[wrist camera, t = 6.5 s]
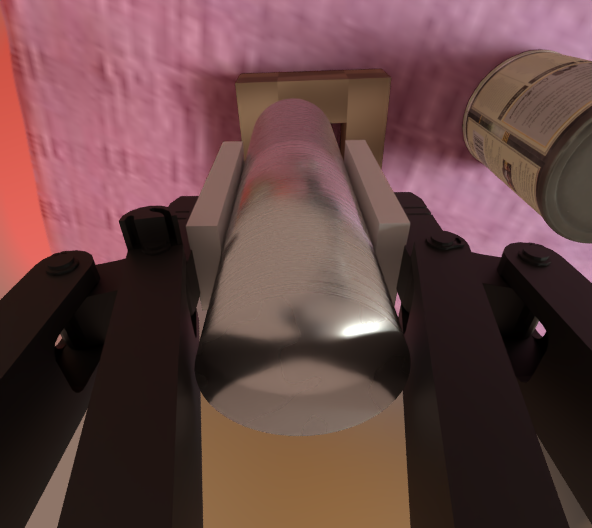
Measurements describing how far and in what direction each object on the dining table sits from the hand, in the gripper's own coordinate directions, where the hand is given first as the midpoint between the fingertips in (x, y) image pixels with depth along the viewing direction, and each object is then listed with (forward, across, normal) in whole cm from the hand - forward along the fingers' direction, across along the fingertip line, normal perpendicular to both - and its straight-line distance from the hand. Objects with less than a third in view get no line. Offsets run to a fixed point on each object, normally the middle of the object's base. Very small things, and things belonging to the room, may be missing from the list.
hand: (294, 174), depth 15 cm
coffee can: (+21, +21, -3) cm, 30 cm away
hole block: (+21, +2, -5) cm, 22 cm away
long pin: (+4, 0, 0) cm, 4 cm away
